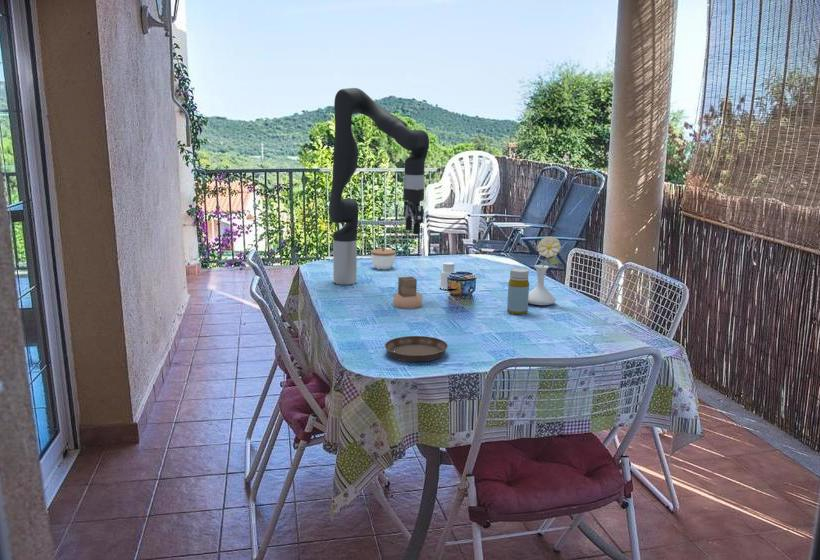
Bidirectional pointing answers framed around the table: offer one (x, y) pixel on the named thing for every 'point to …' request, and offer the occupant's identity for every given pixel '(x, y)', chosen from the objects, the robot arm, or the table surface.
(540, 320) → the table surface
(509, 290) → the bottle
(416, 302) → the terracotta puck
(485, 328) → the table surface
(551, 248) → the flower in vase
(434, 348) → the plant saucer
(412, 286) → the walnut block
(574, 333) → the table surface
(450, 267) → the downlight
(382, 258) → the lidded jar
